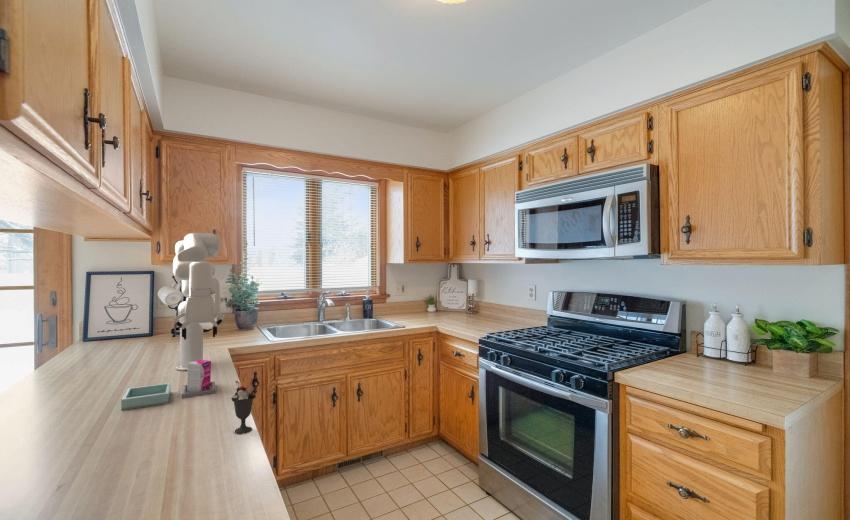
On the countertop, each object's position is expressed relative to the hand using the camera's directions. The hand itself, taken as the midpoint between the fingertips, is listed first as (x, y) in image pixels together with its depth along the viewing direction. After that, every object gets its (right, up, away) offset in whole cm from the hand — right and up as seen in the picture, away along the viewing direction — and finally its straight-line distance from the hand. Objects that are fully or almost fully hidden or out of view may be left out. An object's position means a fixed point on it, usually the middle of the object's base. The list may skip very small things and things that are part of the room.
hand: (199, 337), depth 150 cm
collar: (0, -21, 0) cm, 21 cm away
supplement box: (0, -21, 0) cm, 21 cm away
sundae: (+33, -21, -34) cm, 52 cm away
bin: (-13, -21, -10) cm, 26 cm away
